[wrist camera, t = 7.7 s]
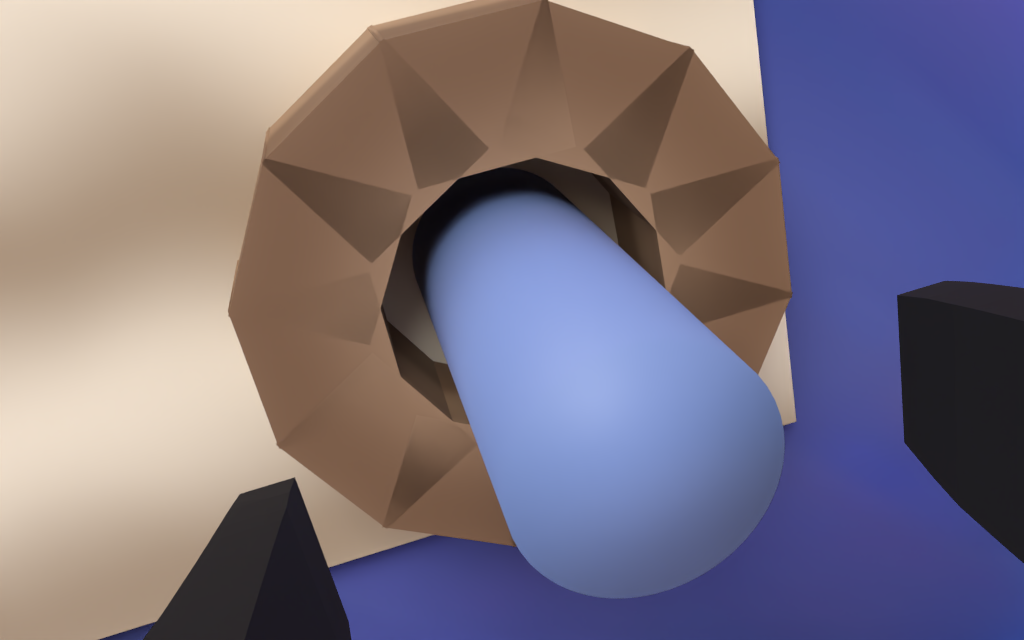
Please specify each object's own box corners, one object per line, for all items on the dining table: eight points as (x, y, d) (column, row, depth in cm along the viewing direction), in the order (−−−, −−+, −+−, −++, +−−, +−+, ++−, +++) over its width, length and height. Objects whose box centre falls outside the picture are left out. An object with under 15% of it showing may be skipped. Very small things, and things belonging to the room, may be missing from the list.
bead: (749, 395, 20) (808, 454, 17) (331, 524, 19) (336, 604, 16) (693, -56, 16) (758, -57, 14) (169, 75, 15) (146, 97, 13)
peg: (595, 304, 18) (797, 545, 11) (437, 353, 18) (538, 634, 11) (562, 146, 17) (767, 300, 10) (391, 195, 16) (470, 394, 9)
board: (783, 409, 21) (796, 421, 20) (-43, 665, 19) (-53, 686, 18) (702, -330, 15) (717, -340, 14) (-496, -74, 13) (-529, -74, 13)
